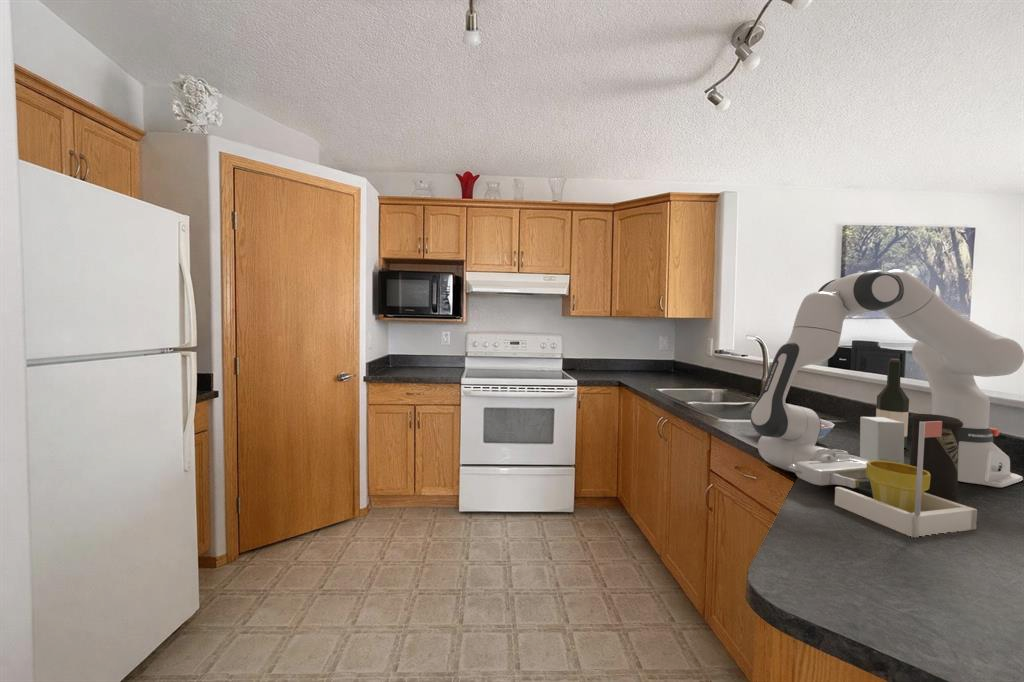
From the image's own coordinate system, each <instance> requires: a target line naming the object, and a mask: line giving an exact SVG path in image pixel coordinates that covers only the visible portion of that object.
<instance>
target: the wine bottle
mask: <svg viewBox="0 0 1024 682" xmlns="http://www.w3.org/2000/svg"><path fill="white" fill-rule="evenodd" d="M901 375H902V361H900V358H889V360H888V361H887V376H886V377H887V378H886V385H885V387H884V388H883V389H881V391H880V392H879V393H878V394H877V395H876V406H875V407H876V408H875V409H876V410H875V417H885V418H888V419H892V420H895V421H899V422H903V423H905V424H904V447H907V446H908V428H909V427H908V426H909V409H910V399H909V397H908V395H907V394H906V393H905V391H904V389H902V387H901ZM907 448H908V447H907Z"/></svg>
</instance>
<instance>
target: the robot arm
mask: <svg viewBox="0 0 1024 682" xmlns="http://www.w3.org/2000/svg"><path fill="white" fill-rule="evenodd" d="M877 311H882V312H883V313H884V314H885V315H886V316H887V317H888V318H889V319H890V320H892V321H893V322H894V324H896V325H897V326H898V328H900V330H902V331H903V332H904V333H905V334H906V335H907V336H908V337H910V338H911V339H913V340H916V342H915V343H914V344H913V346H912V350H911V356H912V358H913V361H914V362H915V363H916V364H917V365H918V366H919V367H920V368H921V369H922V371H923V373H924V375H925V377H926V379H927V382H928V385H929V388H930V394H931V408H930V409H931V413H930V414H934V415H943V416H948V417H953V418H957V419H959V420H960V421H962V422H963V426H962V427H961V429H959V450H958V482H963V483H968V484H977V485H983V486H989V487H993V488H1004V487H1009V486H1011V485H1013V484H1016V483H1019V482H1021V481H1022V480H1023V481H1024V477H1023V476H1022V475H1019V474H1017V473H1013V472H1011V459H1010V456H1009V455H1007V454H1006V453H1005V452H1004V451H1002V449H1001V448H999V447H998V446H997V445H996V444H995V443H994V437H998V436H999V435H1000V433H1001V431H1000V429H999V428H996V427H995V428H993V427H990V412H991V411H990V410H991V400H990V398H989V396H988V395H987V394H986V393H984V391H982V390H981V389H980V388H979V386H978V384H977V382H976V380H975V377H980V378H981V377H983V378H991V377H992V378H993V377H1003V376H1009V375H1011V374H1014V373H1015V372H1018V370H1019V369H1020V368H1021V367H1022V366H1023V364H1024V350H1023V348H1022V346H1021V345H1020V344H1019V343H1018V342H1017V341H1015V340H1014V339H1010V338H1008V337H1006V336H1002V335H1000V334H997V333H995V332H992V331H990V330H989V329H987V328H984V327H983V326H981V325H979V324H977V323H975V322H974V321H971V320H970V319H968V318H967V317H964V316H963V315H961V314H960V313H958V312H957V311H955V310H954V309H953V308H951V307H950V306H949V305H948V304H947V303H946V302H945V301H944V300H943V299H941V297H940V296H938V295H937V294H936V293H935V292H934V291H933V290H932V289H931V288H929V287H928V286H927V285H926V284H925V283H923V281H920V279H918V278H916V277H915V276H914V275H912V274H910V273H909V272H906V271H905V270H902V269H891V270H880V269H879V270H878V269H877V270H876V269H874V270H868V271H864V272H857V273H851V274H848V275H846V276H843V277H840V278H838V279H837V278H836V279H831V280H830V281H828V282H826V283H824V284H823V285H822V286H821V287H820V288H819V289H818V291H814V292H811V293H808V294H807V295H805V297H804V298H803V299H802V302H801V304H800V306H799V308H798V310H797V313H796V315H795V320H794V323H793V327H792V331H791V334H790V336H789V338H788V340H787V341H786V343H785V344H782V346H780V348H779V349H778V350H777V352H776V353H775V355H774V358H773V361H772V363H771V366H770V368H769V370H768V372H767V373H768V374H767V376H766V378H765V381H764V384H763V386H762V389H761V391H760V394H759V396H758V397H757V399H756V401H755V403H754V404H753V406H752V408H751V410H750V411H751V413H749V414H750V415H749V418H750V419H749V420H750V422H751V425H752V427H753V428H754V430H755V432H756V433H758V434H759V435H760V438H759V439H758V441H757V449H758V452H759V453H758V454H759V455H760V456H761V458H762V459H764V461H766V462H768V463H769V464H771V465H773V466H774V467H777V468H779V469H782V470H784V471H787V472H793V473H795V475H796V476H797V478H799V479H801V480H803V481H805V482H808V483H810V484H813V485H816V486H830V485H837V486H838V485H839V486H845V487H848V488H851V489H857V488H858V489H859V487H860V485H859V484H860V483H861V482H862V483H864V482H870V479H868V478H867V476H866V469H867V462H868V461H869V460H866V459H863V458H860V456H857V455H852V454H849V452H848V451H846V450H843V449H837V448H836V449H835V448H834V449H833V448H826V447H823V446H818V445H816V444H818V443H817V442H818V440H819V439H818V437H819V434H820V431H821V421H820V419H821V418H820V416H819V415H818V413H817V412H816V411H814V410H813V409H812V408H809V407H804V406H800V405H797V404H796V405H794V404H792V403H786V398H787V396H788V393H789V391H790V388H791V385H792V382H793V380H794V377H795V375H796V374H797V372H799V370H800V369H802V368H804V367H806V366H810V365H815V364H816V365H817V364H820V363H824V362H825V361H827V360H829V359H830V358H833V356H834V355H835V354H836V352H837V350H838V348H839V344H840V341H841V336H842V331H843V325H844V321H845V319H846V318H847V316H848V315H850V316H851V315H861V314H865V313H870V312H877ZM974 376H975V377H974ZM1023 481H1022V482H1023Z"/></svg>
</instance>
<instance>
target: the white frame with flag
mask: <svg viewBox="0 0 1024 682" xmlns="http://www.w3.org/2000/svg"><path fill="white" fill-rule="evenodd" d="M941 436H942V421H930V422H920V423H919V441H918V459H917V478H916V496H915V513H910V512H907V511H904V510H902V509H899V508H896V507H894V506H891V505H888V504H886V503H883V502H880V501H878V500H875V499H874V498H872V497H869V496H866V495H864V494H862V493H858V492H856V491H853V490H851V489H849V488H846V487H842V486H835V487H834V506H836V507H839V508H841V509H845V510H846V511H849V512H851V513H854V514H856V515H858V516H861V517H864V518H865V519H868V520H870V521H873V522H875V523H877V524H879V525H882V526H884V527H886V528H889V529H892V530H893V531H897V532H899V533H902V534H904V535H905V534H906V535H905V536H908V537H910V536H911V538H913V537H914V538H920V537H919V536H922V537H926V536H925V535H929V536H932V535H931V534H936V535H939V534H938V533H944V534H948V533H947V532H951V533H957V531H959V532H965V531H971V530H973V531H974V530H977V517H978V509H976V508H974V507H971V506H967V505H965V504H961V503H958V502H957V503H956V502H953V501H950V500H946V499H943V498H940V497H937V496H934V495H931V494H928V493H925V492H924V494H923V497H922V500H921V491H922V473H923V455H924V438H927V437H941Z"/></svg>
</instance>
